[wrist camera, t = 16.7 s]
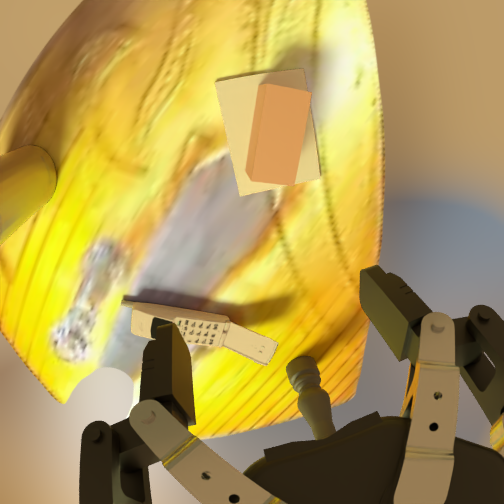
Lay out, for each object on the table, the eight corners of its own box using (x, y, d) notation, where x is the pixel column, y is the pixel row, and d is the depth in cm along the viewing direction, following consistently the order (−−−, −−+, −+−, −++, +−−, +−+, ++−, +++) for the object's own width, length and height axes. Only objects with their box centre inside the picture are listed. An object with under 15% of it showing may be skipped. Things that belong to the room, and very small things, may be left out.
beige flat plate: (239, 195, 39) (240, 196, 38) (214, 82, 31) (214, 82, 31) (319, 177, 39) (320, 178, 39) (302, 68, 32) (303, 68, 31)
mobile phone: (268, 366, 48) (115, 347, 41) (261, 342, 53) (121, 322, 46) (281, 341, 45) (115, 318, 38) (272, 317, 50) (122, 294, 43)
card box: (258, 85, 32) (267, 83, 27) (298, 92, 33) (311, 92, 29) (245, 170, 37) (251, 181, 33) (283, 175, 38) (294, 186, 34)
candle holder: (310, 374, 60) (348, 475, 38) (282, 376, 59) (315, 483, 37) (318, 355, 57) (363, 462, 35) (289, 356, 56) (328, 471, 34)
